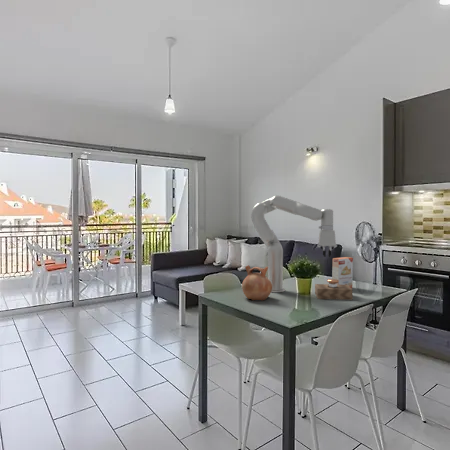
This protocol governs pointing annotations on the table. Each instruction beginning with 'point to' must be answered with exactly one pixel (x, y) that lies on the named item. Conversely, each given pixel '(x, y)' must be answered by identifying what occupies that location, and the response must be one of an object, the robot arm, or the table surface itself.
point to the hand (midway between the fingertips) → (326, 256)
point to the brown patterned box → (333, 292)
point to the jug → (256, 284)
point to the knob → (332, 283)
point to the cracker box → (343, 270)
